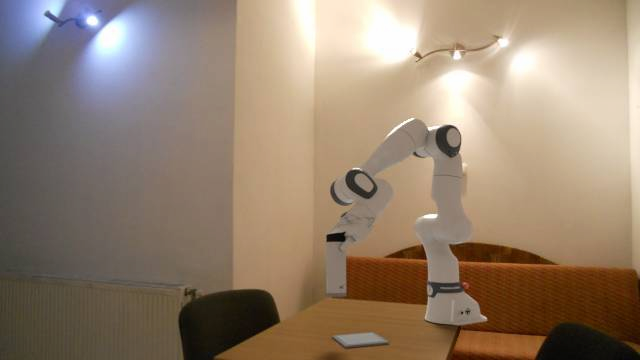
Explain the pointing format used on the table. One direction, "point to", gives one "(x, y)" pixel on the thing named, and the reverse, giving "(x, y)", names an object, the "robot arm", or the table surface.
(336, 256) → the travel mug
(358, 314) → the table surface
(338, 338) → the felt pad
